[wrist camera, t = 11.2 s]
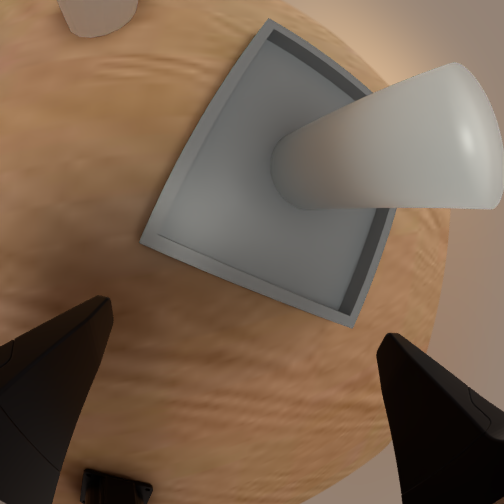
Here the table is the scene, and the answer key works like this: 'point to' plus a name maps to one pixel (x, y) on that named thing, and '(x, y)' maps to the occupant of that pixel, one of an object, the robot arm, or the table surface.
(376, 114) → the candle
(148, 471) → the table surface
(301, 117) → the tray
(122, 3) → the shot glass
